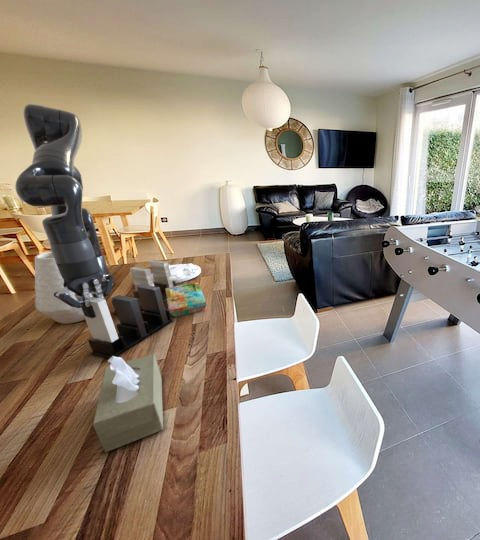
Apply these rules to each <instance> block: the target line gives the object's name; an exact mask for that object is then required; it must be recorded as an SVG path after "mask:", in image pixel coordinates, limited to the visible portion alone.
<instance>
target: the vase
mask: <svg viewBox="0 0 480 540" xmlns="http://www.w3.org/2000/svg"><path fill="white" fill-rule="evenodd" d="M63 284H64V280H63V278H62V276H61V274H60V272H59V269H58V267H57V264H56V262H55V259H54V257H53V254H52V251H51V250H50V251H46V252H43V253H39V254H37V255H36V256H34V308H35V310H36V311H37V312H39V313H40V314H43V316H46V317H47V318H49V319H51V320H53V321H55V322H57V323H58V324H62V325H63V324H65V325H66V324H67V325H68V324H75V323H79V322H83V321H86V320H85V317H84V314H83V312H82V309H81V308H76V307H71V306H69V305H68V304H66V303H65V302H63V301H61V300H60V299H58V298H56V297H55V296H54V293H55V292H60V291H61V290H62V289H63V288H64V286H63ZM100 287H101V285H100ZM69 293H70V294H71V296H70V297H72V298H73V299H75V300H76V301H78V300H77V298H76V297H75V293H74V292H72V291H70V290H69ZM90 297H92V295H91V294H90Z"/></svg>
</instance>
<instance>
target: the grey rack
mask: <svg viewBox="0 0 480 540" xmlns="http://www.w3.org/2000/svg"><path fill="white" fill-rule="evenodd" d="M137 289H138V293H139V296H140V300H141V303H142V307H143V311H141V312H140V308H139V305H138V302H137V298H135V297H133V298H132V296H128V297H126V296H127V295H120V294H117V295H115V296H113V297H111V299H112V300H113V303H114V306H115V309H116V312H117V314H116V315H117V318H118V321H119V323H117V324H116V325H115V327H116V329H117V333H118V334H117V335H118V338H119V339H117V340H115V341H114V342H112V343H111V342H107V341H103V340H98V339H94V338H88V339H87V342H88V344H89V347H90V349H91V351H90V354H91V355H92V356H95V357H100V358H103V359H107V360H109V359H110V358H111V357H112V356H115V357H119V356H121V355H122V354H124V353H125V352H127V351H129V350H130V349H132V348H134V347H135V346H137V345H138V344H139V343H141V342H143V341H145V340H146V339H147V338H149V337H151V336H152V335H154V334H155V333H157V332H158V331H160V330H161V329H163V328H165V327H166V326H168V325H170V324H171V323H172V322H174V320H173V318H172V315H171V314H170V312H169V309H168V308H165V303H164V299H162V295H161V291H160V288H159V287H155V286H149V285H143V284H142V285H140V286H138V287H137ZM112 300H111V301H112Z"/></svg>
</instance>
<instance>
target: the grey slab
mask: <svg viewBox="0 0 480 540" xmlns="http://www.w3.org/2000/svg"><path fill="white" fill-rule="evenodd" d="M148 263H149V266H150V268H146V267H140V266H133V267H130V268H129V270H130V275H131V278H132V281H133V285H134V290H133V291H132V293H133V296H134V297H132V296H131V297H132V298H137V302H138V305H139V308H140V312H141V311H144V310H143V307H142V303H141V300H140V296H139V293H138V289H137V287H138V286H140V285H142V284H143V285H149V286H155V287H159V288H160V291H161V295H162V299H163V300H165V299H167V297H166V290H165V288H170V287H175V286H177V284H176V282H175V281H172V278H171V273H170V269H169V265H170V264H169V262H168V261H167V260H166V261H165V260H159V259H151V260H149V261H148ZM151 274H153V278H154V281H153V279H152V276H151ZM125 296H126V297H129V296H127V295H125ZM111 303H112V304H111V305H112V306H113V309H114V310H113V313H114V314H116V315H117V312H116V309H115V306H114V303H113V300H111Z"/></svg>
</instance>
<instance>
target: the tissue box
mask: <svg viewBox="0 0 480 540" xmlns="http://www.w3.org/2000/svg"><path fill="white" fill-rule="evenodd" d="M107 362H108V363H110V364H109V365H108V366H106V367H105V368H104V372H103V377H102V381H101V385H100V390H99V395H98V398H97V399H98V400H97V403H96V408H95V414H94V417H93V423H92V427H93V429H94V430H95V433H96V435H97V437H98V440H99V442H100V444H101V446H102V448H103V450H104V452H105V453H108V452H110V451H113V450H115V449H118V448H121V447H123V446H125V445H128V444H131V443H134V442H135V441H138V440H141V439H143V438H145V437H148V436H151V435H153V434H156V433H158V432H159V433H160V432H161V431H163V430H164V416H163V415H164V411H163V409H164V407H163V386H162V385H163V378H162V377H163V376H162V374H161V371H160V368H159V367H160V366H159V363H158V361H157V357H156V354H154V353H151V354H147V355H145V356H141V357H137V358H134V359H130V360H127V361H125V360H124V358H123V357H119V356H117V357H115V356H112V357H111V358H110V359H107Z"/></svg>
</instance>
